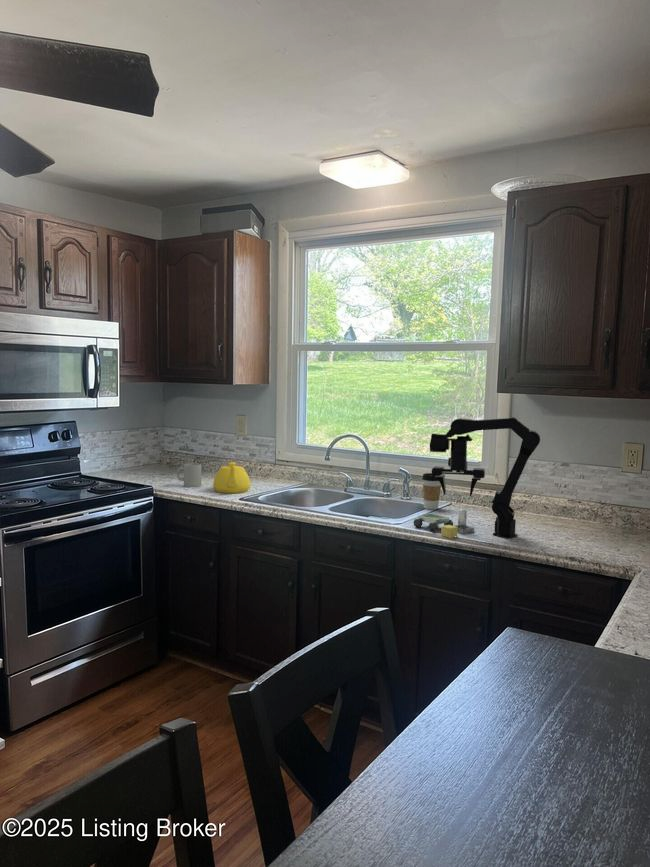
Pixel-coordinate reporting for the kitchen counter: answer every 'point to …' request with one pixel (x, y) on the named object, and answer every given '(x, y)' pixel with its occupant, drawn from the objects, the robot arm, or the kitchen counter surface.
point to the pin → (462, 518)
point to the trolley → (432, 521)
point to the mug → (191, 474)
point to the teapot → (231, 479)
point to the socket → (465, 529)
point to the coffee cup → (431, 491)
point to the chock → (449, 531)
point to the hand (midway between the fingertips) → (457, 495)
